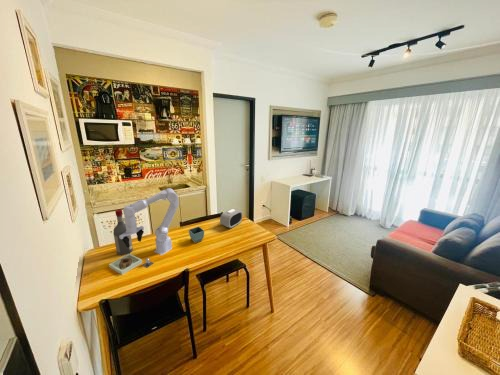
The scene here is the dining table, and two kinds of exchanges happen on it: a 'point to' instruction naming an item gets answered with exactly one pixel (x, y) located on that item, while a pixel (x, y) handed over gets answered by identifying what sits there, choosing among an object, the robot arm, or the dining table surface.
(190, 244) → the dining table surface
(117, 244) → the liquor
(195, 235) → the flower pot
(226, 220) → the alarm clock
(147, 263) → the grey piece
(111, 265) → the tray
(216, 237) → the dining table surface
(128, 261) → the ring
